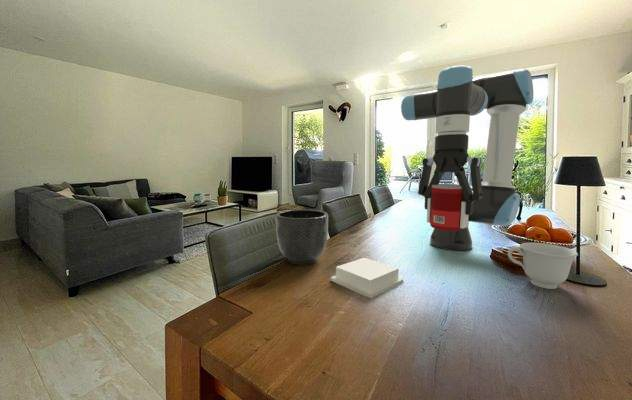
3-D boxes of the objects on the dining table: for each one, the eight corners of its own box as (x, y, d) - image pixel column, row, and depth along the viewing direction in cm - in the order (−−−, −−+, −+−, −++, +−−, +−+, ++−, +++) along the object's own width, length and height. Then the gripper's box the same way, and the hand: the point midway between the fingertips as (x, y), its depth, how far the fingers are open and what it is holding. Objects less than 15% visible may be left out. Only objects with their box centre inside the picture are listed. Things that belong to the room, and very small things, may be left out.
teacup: (499, 272, 85) (501, 239, 84) (559, 278, 81) (563, 244, 80) (513, 289, 74) (516, 252, 73) (584, 297, 69) (589, 258, 68)
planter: (338, 264, 92) (338, 215, 90) (289, 274, 84) (288, 220, 82) (312, 250, 107) (312, 208, 105) (268, 257, 99) (267, 211, 97)
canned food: (467, 231, 69) (470, 186, 68) (432, 230, 71) (435, 186, 70) (458, 224, 77) (461, 183, 75) (427, 223, 78) (429, 183, 77)
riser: (363, 268, 89) (363, 256, 88) (403, 282, 78) (403, 268, 78) (330, 280, 80) (330, 266, 79) (370, 298, 69) (371, 282, 69)
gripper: (405, 136, 76) (402, 220, 79) (493, 129, 60) (485, 234, 64) (420, 137, 81) (417, 216, 84) (504, 132, 65) (496, 229, 68)
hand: (446, 224), depth 74 cm, fingers closed on canned food, 8 cm apart
